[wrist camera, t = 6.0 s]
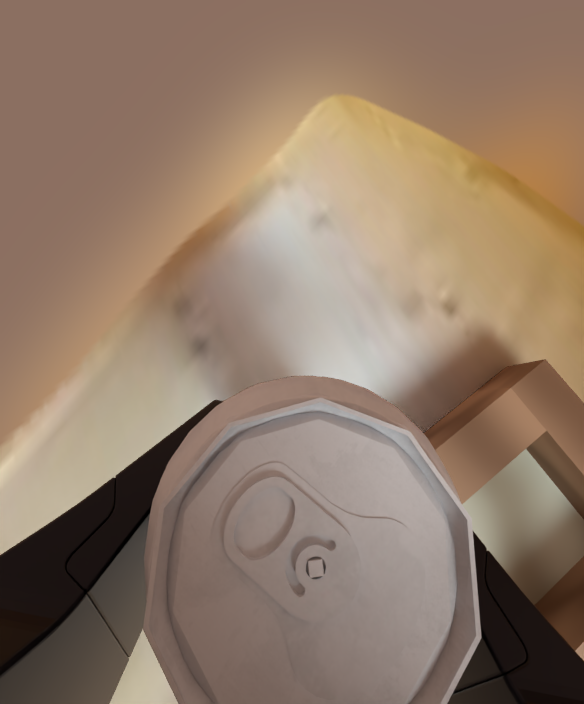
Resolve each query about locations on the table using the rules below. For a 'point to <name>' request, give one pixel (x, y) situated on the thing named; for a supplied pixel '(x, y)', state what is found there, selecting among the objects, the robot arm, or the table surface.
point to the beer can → (309, 555)
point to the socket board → (525, 484)
